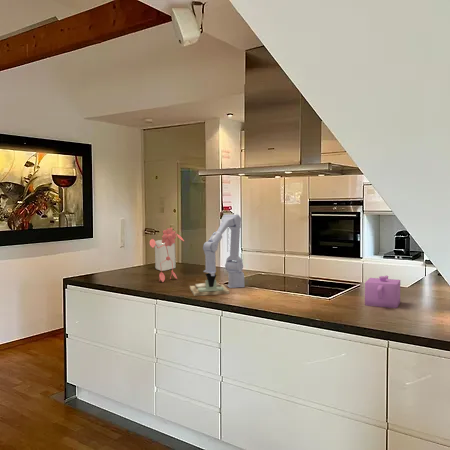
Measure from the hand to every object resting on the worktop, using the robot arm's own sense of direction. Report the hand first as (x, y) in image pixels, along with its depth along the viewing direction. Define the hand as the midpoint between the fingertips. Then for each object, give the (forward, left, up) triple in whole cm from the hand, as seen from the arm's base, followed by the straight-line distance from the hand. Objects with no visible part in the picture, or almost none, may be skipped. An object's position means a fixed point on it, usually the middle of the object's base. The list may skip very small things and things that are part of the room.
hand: (211, 286), depth 266 cm
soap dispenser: (+21, -92, -4) cm, 95 cm away
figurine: (+19, -42, -4) cm, 47 cm away
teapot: (-81, +45, -4) cm, 93 cm away
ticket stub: (0, -1, -2) cm, 3 cm away
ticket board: (0, -7, -4) cm, 9 cm away
